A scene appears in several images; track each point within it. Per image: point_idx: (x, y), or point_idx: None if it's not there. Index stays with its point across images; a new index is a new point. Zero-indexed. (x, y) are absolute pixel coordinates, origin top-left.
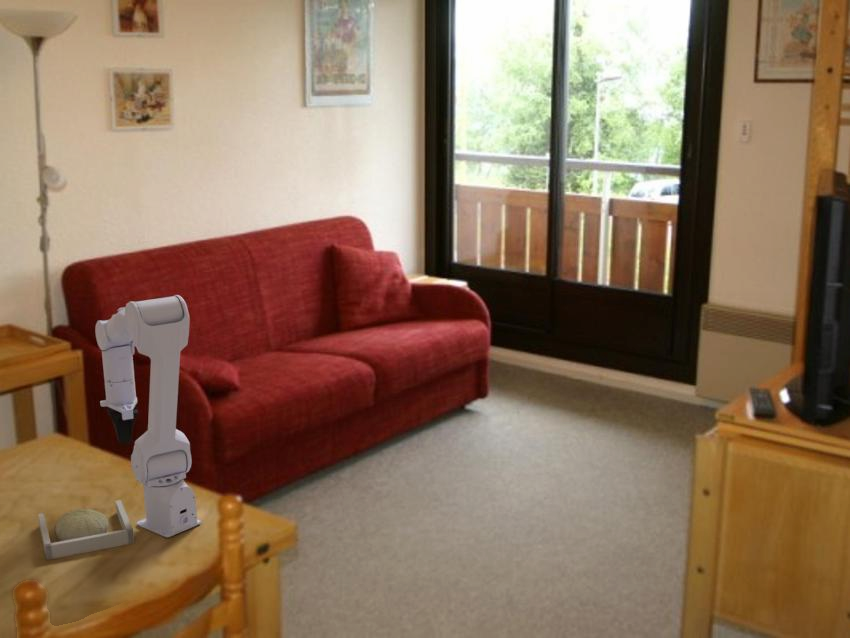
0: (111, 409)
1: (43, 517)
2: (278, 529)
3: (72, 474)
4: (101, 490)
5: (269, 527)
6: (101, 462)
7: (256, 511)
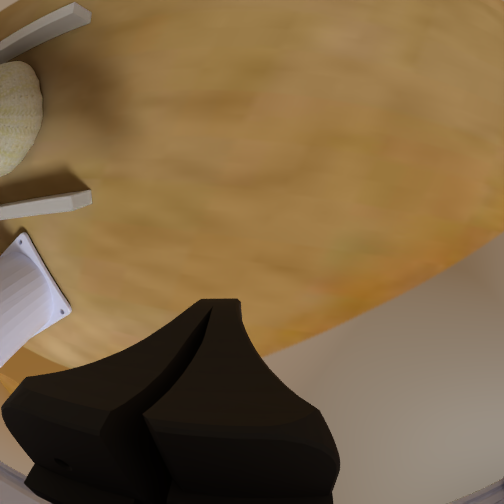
0: (264, 477)
1: (51, 20)
2: None
3: (442, 103)
4: (275, 157)
5: None
6: (485, 198)
7: None
